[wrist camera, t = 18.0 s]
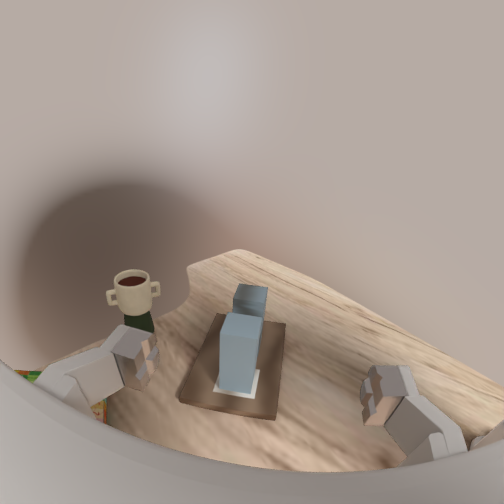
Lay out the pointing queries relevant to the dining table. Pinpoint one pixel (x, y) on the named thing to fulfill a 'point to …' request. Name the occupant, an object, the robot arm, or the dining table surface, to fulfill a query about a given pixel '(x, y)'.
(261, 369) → the base board
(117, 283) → the character mug
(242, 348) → the pillar block
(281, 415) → the dining table surface
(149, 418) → the dining table surface
